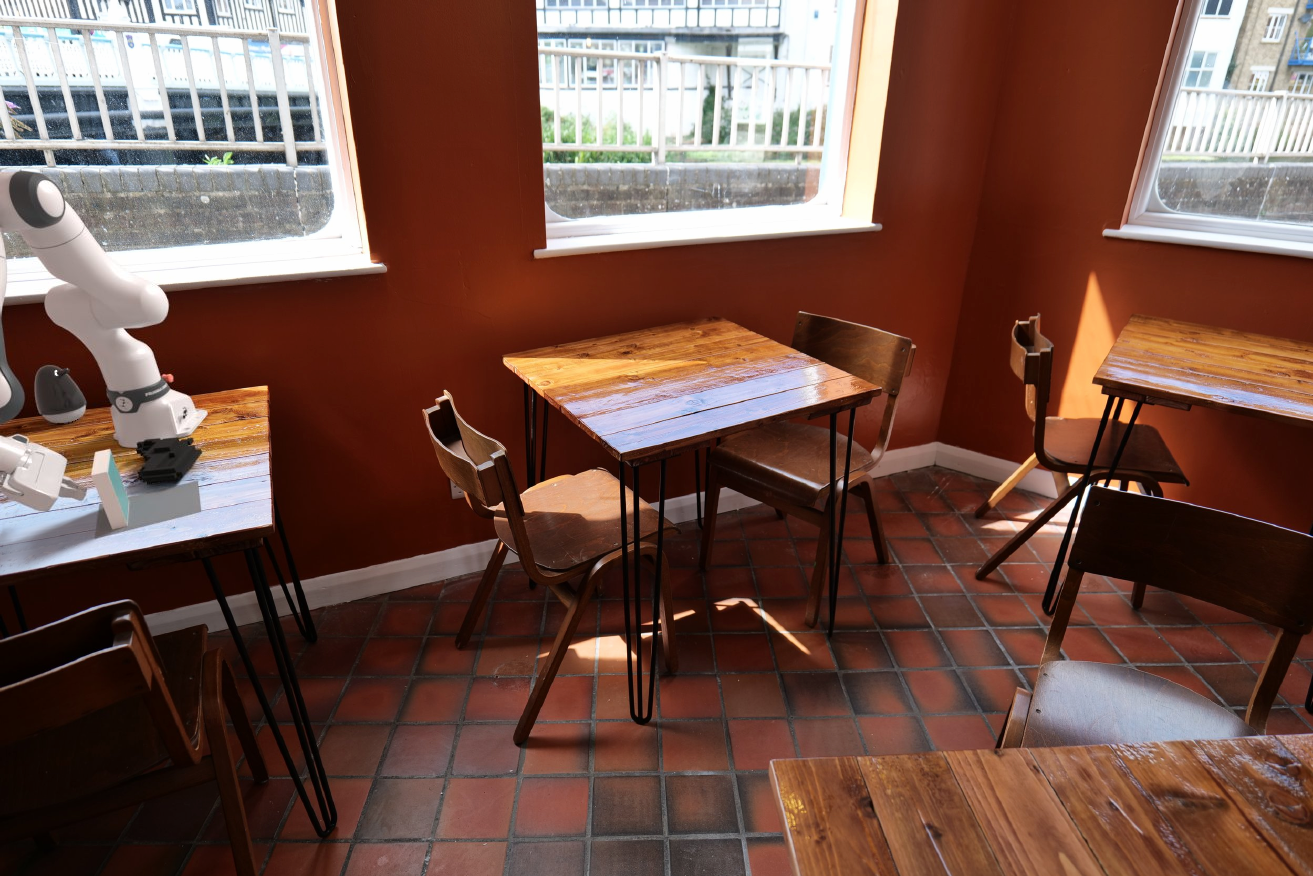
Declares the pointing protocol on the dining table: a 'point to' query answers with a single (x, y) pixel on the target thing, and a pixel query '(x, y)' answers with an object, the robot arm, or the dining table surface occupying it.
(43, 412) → the penguin toy figure
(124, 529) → the mat
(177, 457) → the tool
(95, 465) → the tile
